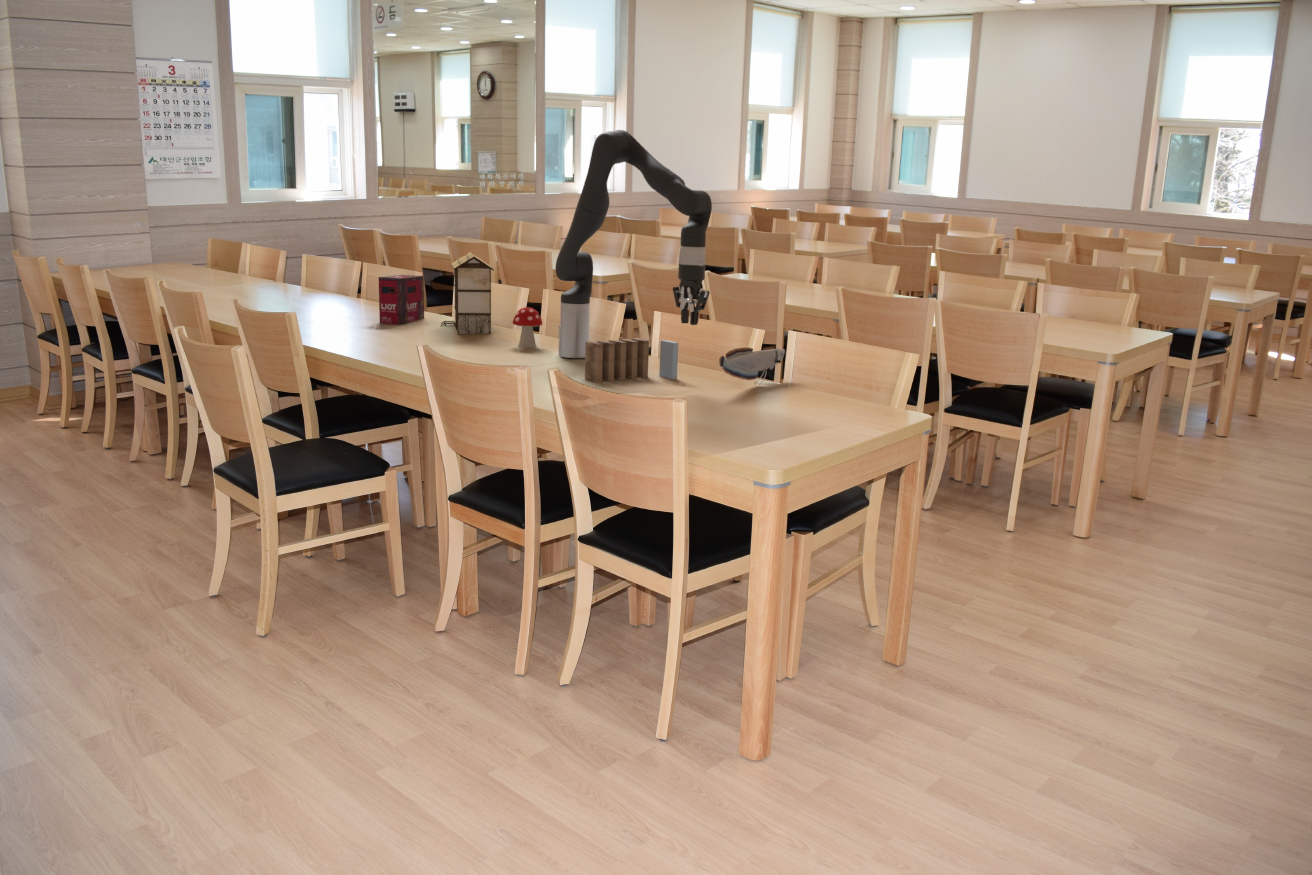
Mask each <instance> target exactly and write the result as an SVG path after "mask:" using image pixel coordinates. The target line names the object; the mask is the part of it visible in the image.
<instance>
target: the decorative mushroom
mask: <svg viewBox="0 0 1312 875" xmlns="http://www.w3.org/2000/svg"><path fill="white" fill-rule="evenodd" d="M512 324H513V325H514V326H517V327H521V332H520V337H519V341H518V345H517V348H520V349H534V348H535V347H536V348H537V347H538V346H537V344H536V339H535V334H534V327H541V326H542V325H543V321H542V318H541V315H540V314H539V311H537V309H534V308H533V307H529V306H527V307H522V308H520V309H518V310H517V311H516V312H515V315H514V317H513V320H512Z"/></svg>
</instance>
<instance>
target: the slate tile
mask: <svg viewBox="0 0 1312 875" xmlns="http://www.w3.org/2000/svg"><path fill="white" fill-rule="evenodd" d="M659 353H660V354H659V375H658V376H659V377H661V378H664V379H665V378H666V379H669V380H671V381H673V380H677V379H678V362H679V361H678V360H679V342H678V341H673V340H672V341H671V340H666V339H661V340H660V349H659Z"/></svg>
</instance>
